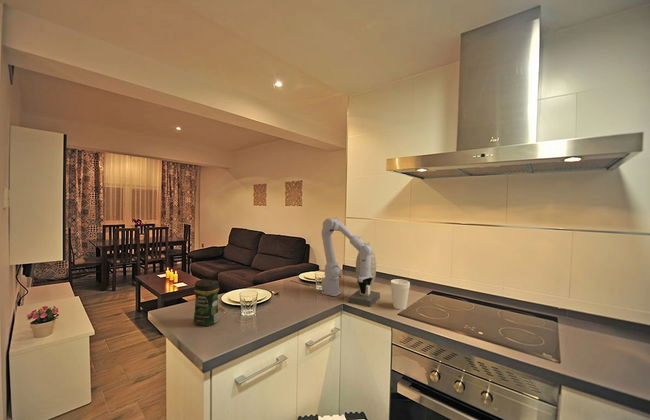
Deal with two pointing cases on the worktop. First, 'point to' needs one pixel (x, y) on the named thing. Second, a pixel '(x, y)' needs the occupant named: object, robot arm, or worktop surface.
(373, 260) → the vase
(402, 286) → the foam cup
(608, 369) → the worktop surface
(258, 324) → the worktop surface
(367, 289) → the plug
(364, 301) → the socket block
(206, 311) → the coffee jar
